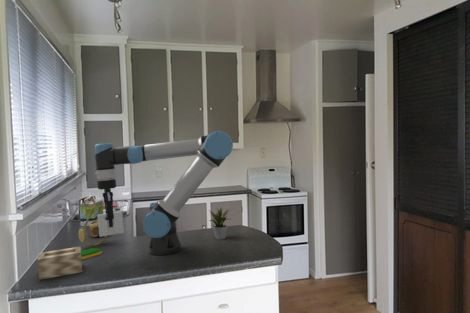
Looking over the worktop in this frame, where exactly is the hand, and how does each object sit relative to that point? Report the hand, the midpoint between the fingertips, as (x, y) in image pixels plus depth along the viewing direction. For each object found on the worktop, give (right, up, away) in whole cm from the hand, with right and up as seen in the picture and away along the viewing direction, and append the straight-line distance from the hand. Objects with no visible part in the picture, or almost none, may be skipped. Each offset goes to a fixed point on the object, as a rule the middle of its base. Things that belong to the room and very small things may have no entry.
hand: (111, 233), depth 158 cm
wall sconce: (-18, -13, +30) cm, 37 cm away
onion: (-24, -12, +50) cm, 57 cm away
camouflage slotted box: (-18, -14, -7) cm, 24 cm away
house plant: (+47, -9, +30) cm, 56 cm away
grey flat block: (0, 0, 0) cm, 0 cm away
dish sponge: (-17, -14, +12) cm, 25 cm away
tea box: (-41, -12, +86) cm, 96 cm away
